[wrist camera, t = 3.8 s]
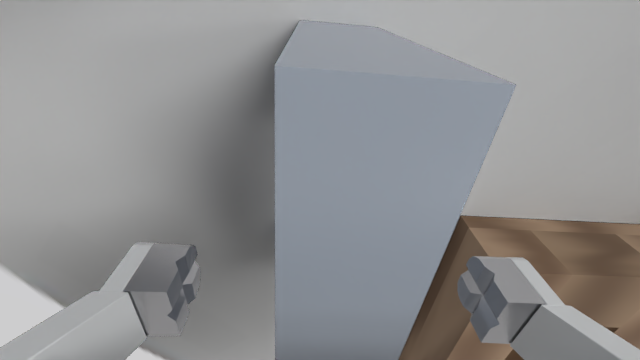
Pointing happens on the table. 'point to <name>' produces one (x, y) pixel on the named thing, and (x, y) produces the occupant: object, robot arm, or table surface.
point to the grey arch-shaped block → (369, 183)
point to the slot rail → (553, 266)
